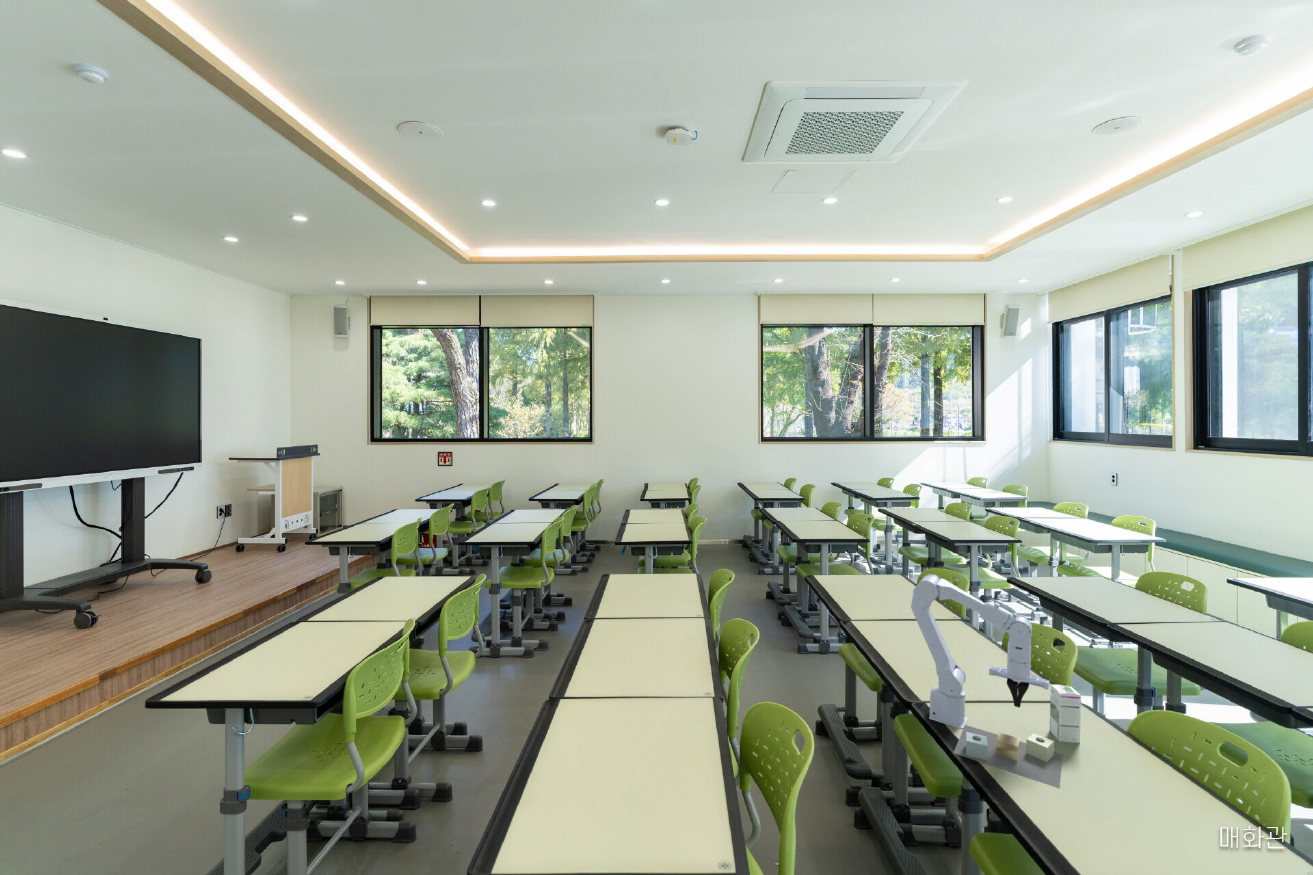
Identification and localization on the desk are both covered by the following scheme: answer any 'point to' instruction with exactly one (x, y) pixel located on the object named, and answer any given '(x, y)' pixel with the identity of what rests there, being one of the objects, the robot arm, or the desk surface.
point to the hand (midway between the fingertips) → (1017, 705)
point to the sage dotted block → (1040, 747)
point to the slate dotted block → (976, 745)
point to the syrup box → (1065, 713)
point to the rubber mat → (1023, 766)
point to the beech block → (1008, 746)
